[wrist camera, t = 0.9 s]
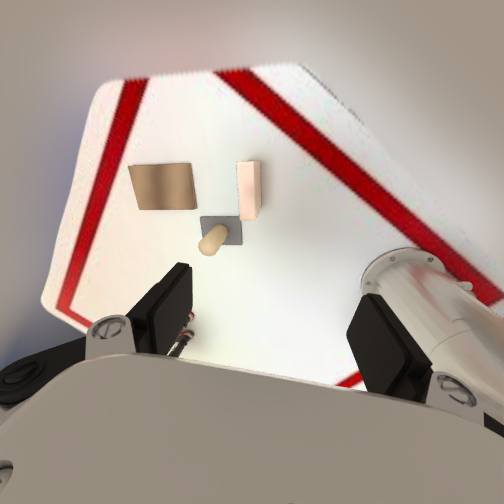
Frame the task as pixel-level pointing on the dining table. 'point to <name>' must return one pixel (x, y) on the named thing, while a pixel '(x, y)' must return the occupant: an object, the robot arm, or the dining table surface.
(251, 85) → the dining table surface
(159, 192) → the board
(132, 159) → the dining table surface
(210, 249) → the float
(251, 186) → the tile
